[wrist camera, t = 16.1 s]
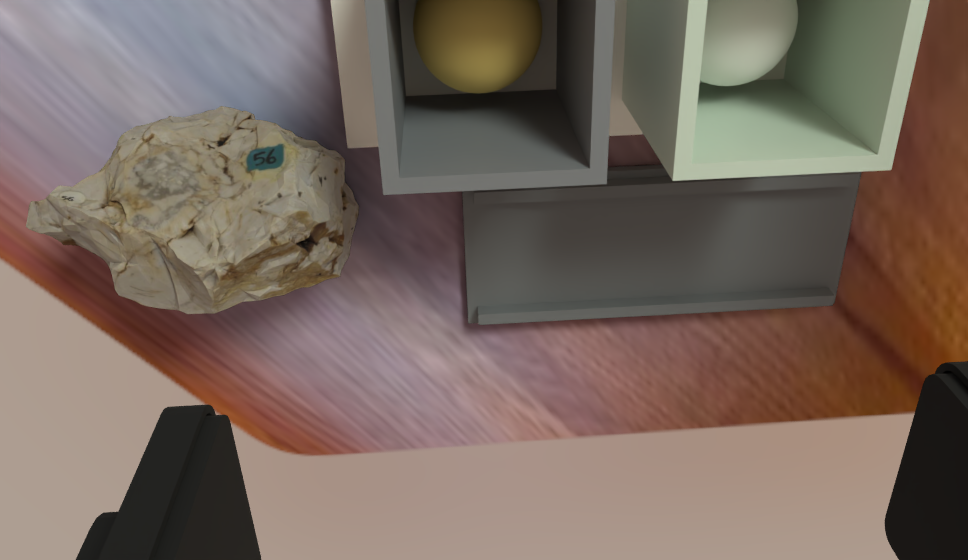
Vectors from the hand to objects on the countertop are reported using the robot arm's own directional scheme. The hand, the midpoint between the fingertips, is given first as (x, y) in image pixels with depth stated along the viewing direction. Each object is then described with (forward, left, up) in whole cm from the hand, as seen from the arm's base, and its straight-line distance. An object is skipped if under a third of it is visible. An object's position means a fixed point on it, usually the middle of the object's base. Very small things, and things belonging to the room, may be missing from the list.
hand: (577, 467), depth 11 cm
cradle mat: (-9, +12, -28) cm, 32 cm away
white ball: (-10, 0, -27) cm, 29 cm away
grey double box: (-5, 0, -28) cm, 29 cm away
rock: (+12, +6, -29) cm, 32 cm away
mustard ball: (0, 0, -27) cm, 27 cm away
